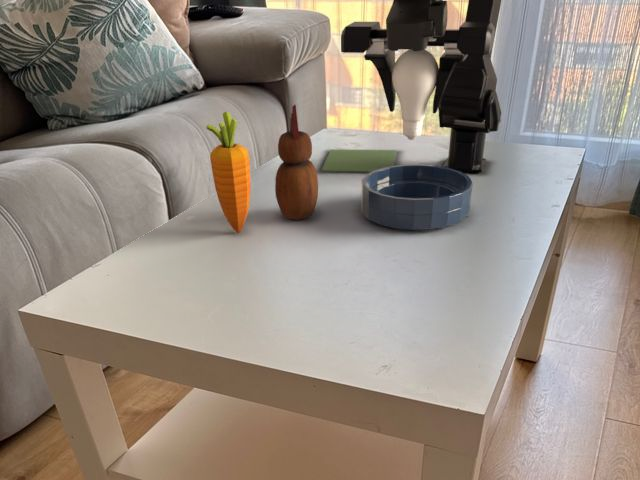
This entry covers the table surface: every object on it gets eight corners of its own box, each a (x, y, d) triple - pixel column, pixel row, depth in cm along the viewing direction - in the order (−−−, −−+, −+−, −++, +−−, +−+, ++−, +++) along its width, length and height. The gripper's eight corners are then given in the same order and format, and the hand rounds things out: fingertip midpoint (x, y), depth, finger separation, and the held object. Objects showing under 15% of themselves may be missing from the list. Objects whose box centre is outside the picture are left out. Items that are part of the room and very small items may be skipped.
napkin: (330, 151, 116) (330, 149, 116) (396, 152, 115) (396, 150, 115) (321, 171, 107) (321, 170, 107) (392, 172, 106) (392, 171, 105)
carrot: (241, 242, 85) (228, 121, 75) (212, 235, 87) (196, 116, 77) (263, 229, 88) (253, 111, 78) (235, 223, 90) (221, 108, 81)
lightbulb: (441, 136, 88) (448, 45, 82) (422, 148, 85) (428, 53, 78) (401, 131, 91) (405, 43, 84) (381, 142, 87) (384, 50, 80)
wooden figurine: (313, 225, 89) (308, 108, 79) (273, 223, 90) (264, 107, 80) (322, 208, 94) (319, 96, 84) (284, 206, 95) (277, 95, 85)
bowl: (375, 191, 99) (376, 161, 96) (474, 199, 95) (478, 168, 92) (349, 227, 88) (349, 194, 85) (459, 237, 84) (463, 203, 81)
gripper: (326, -23, 72) (330, 124, 82) (494, -26, 67) (476, 131, 77) (352, -31, 80) (352, 104, 90) (503, -34, 76) (485, 109, 86)
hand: (413, 111), depth 86 cm, fingers closed on lightbulb, 5 cm apart
